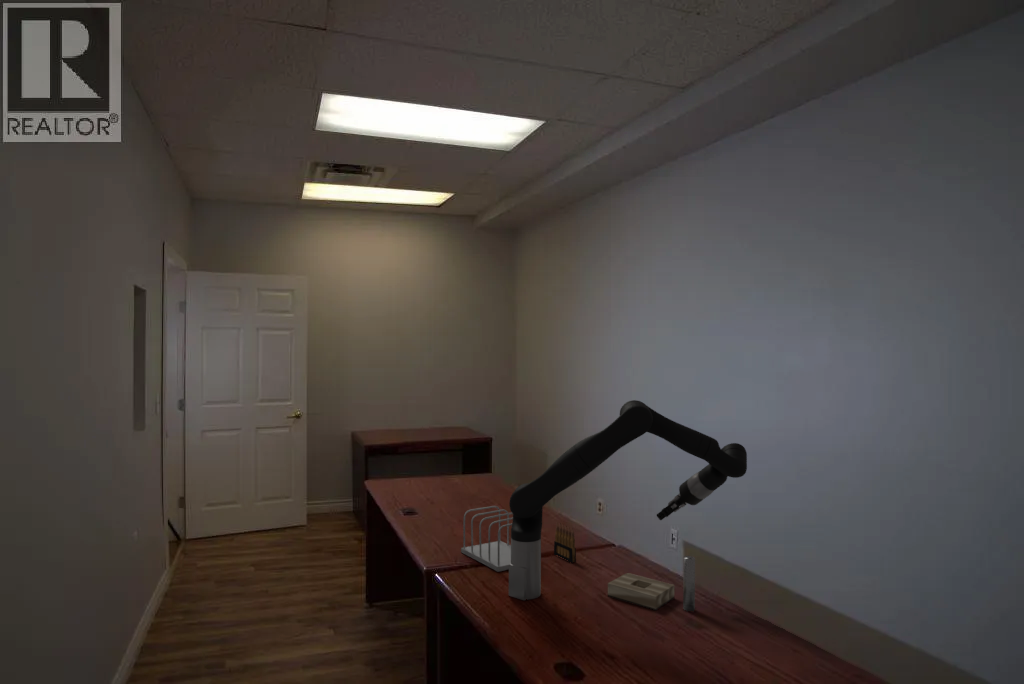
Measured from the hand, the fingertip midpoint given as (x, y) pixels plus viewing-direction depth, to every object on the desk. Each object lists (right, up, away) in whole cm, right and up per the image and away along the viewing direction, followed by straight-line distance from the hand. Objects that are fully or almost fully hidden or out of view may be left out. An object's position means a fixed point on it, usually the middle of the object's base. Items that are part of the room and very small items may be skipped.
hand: (665, 512), depth 212 cm
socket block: (-11, -22, -14) cm, 28 cm away
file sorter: (-54, -22, +21) cm, 62 cm away
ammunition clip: (-31, -22, +21) cm, 43 cm away
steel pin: (+1, -22, -23) cm, 32 cm away
